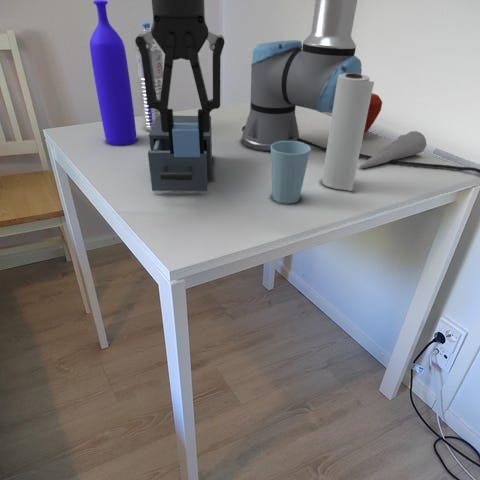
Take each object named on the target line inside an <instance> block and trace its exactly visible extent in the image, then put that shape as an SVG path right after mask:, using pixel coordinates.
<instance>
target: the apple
mask: <svg viewBox="0 0 480 480" xmlns="http://www.w3.org/2000/svg"><path fill="white" fill-rule="evenodd" d="M382 106H383V101H382V99H381V97H380V96H379V95H378V94H377V93H373V92H372V95H371V100H370V105H369V109H368V114H367V119H366V124H365V129H364V134H363V135H365V134H366V133H367V132H369V130H370V128H371V127H372V125H373V124H374V123H375V122H376V120H377V118H378V116H379V114H380V113H381V111H382Z"/></svg>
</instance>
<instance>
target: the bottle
mask: <svg viewBox="0 0 480 480" xmlns="http://www.w3.org/2000/svg"><path fill="white" fill-rule="evenodd" d="M92 4H94V5H95V6H96V10H97V19H98V22H97V26H96V28H95V29H94V31H93V32H92V35H91V37H90V41H89V51H90V59H91V66H92V71H93V77H94V84H95V89H96V90H95V91H96V95H97V100H98V105H99V112H100V117H101V122H102V128H103V133H104V137H105V140H106V142H107V143H108V144H109V145H112V146H128V145H131V144H133V143H135V142H136V141H137V127H136V119H135V110H134V104H133V95H132V89H131V88H132V87H131V79H130V73H129V65H128V61H127V60H128V59H127V53H126V48H125V43H124V41H123V39H122V37H121V36H120V35H119V33H118V32H117V30H116V29H115V28H114V27H113V26H112V25H111V24H110V22H109V21H110V20H109V18H108V13H107V5H108V4H109V2H108V0H93V2H92Z"/></svg>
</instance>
